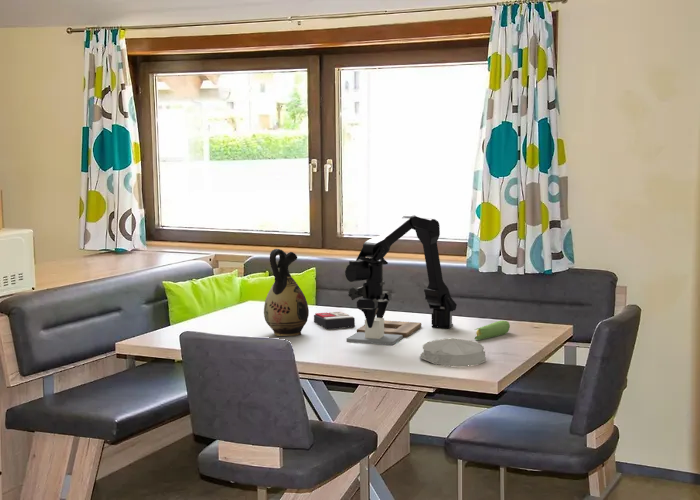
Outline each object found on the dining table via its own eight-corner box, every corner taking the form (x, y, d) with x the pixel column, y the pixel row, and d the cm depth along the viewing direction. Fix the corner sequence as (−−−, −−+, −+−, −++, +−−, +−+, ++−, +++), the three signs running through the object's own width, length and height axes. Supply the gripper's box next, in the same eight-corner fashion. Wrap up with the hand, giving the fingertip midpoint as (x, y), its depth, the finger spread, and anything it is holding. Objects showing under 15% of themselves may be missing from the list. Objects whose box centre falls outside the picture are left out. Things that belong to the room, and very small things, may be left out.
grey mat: (402, 338, 291) (402, 335, 291) (392, 344, 281) (392, 341, 281) (357, 334, 297) (357, 331, 297) (346, 341, 287) (346, 338, 286)
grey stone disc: (488, 354, 270) (488, 332, 269) (484, 368, 250) (484, 345, 250) (424, 352, 274) (424, 330, 274) (415, 366, 255) (415, 343, 254)
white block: (384, 335, 290) (384, 318, 290) (379, 338, 286) (379, 320, 285) (370, 334, 292) (369, 317, 291) (365, 337, 287) (364, 320, 287)
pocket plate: (421, 326, 309) (421, 322, 309) (406, 337, 292) (406, 332, 292) (373, 323, 315) (373, 319, 315) (356, 333, 299) (356, 329, 298)
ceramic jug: (283, 327, 310) (282, 244, 306) (317, 332, 301) (316, 247, 297) (251, 336, 296) (249, 249, 292) (286, 342, 287) (285, 252, 283)
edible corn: (515, 321, 296) (504, 316, 299) (478, 332, 283) (467, 326, 286) (511, 335, 298) (501, 329, 301) (474, 346, 285) (464, 340, 288)
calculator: (341, 310, 324) (354, 315, 310) (341, 322, 324) (355, 327, 310) (313, 312, 320) (325, 317, 306) (313, 324, 321) (326, 329, 307)
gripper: (361, 273, 298) (361, 318, 300) (341, 281, 281) (342, 329, 283) (391, 275, 294) (392, 320, 296) (374, 283, 277) (374, 331, 279)
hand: (374, 325), depth 288 cm, fingers open, 9 cm apart
